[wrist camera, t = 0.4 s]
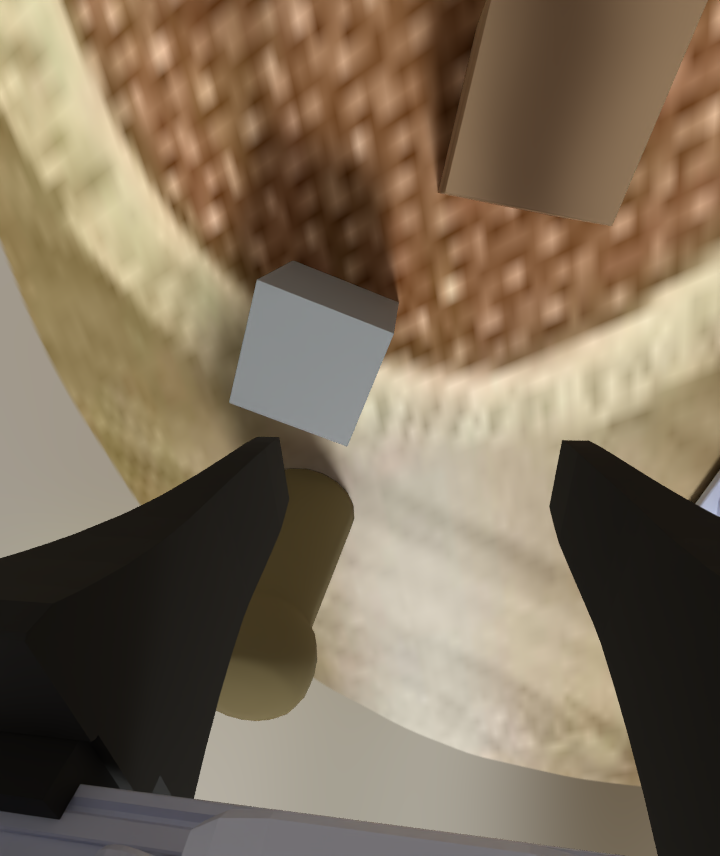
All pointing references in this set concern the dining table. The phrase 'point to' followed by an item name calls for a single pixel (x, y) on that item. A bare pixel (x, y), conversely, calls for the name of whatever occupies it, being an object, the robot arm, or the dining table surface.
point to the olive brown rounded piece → (288, 602)
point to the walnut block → (564, 101)
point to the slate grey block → (312, 350)
